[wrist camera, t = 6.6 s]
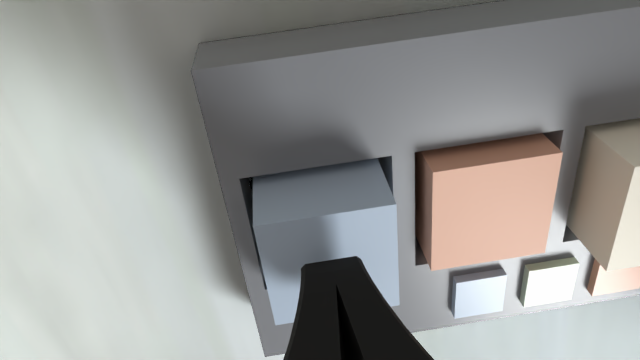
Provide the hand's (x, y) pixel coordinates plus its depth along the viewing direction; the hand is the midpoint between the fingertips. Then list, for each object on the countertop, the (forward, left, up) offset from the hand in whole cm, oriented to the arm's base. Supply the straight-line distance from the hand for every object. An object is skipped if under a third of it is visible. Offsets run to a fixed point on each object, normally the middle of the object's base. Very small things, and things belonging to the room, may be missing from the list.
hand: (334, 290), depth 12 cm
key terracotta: (-5, 0, -4) cm, 6 cm away
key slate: (0, 0, -3) cm, 3 cm away
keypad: (-7, 0, -4) cm, 8 cm away
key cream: (-9, 0, -3) cm, 10 cm away
